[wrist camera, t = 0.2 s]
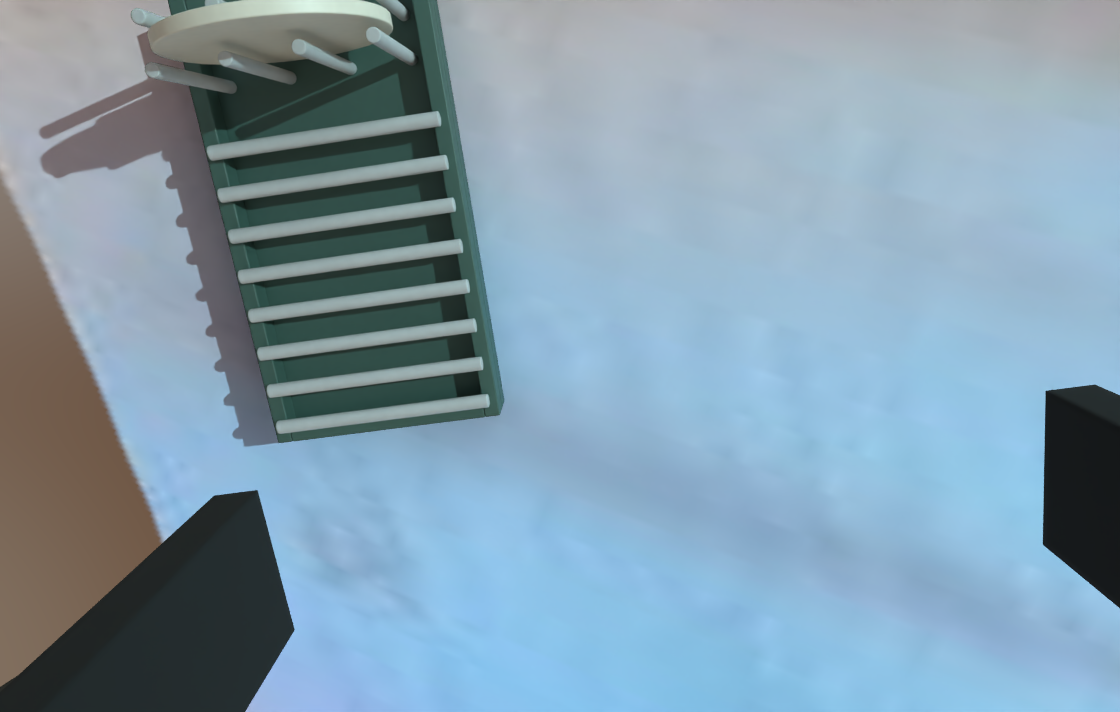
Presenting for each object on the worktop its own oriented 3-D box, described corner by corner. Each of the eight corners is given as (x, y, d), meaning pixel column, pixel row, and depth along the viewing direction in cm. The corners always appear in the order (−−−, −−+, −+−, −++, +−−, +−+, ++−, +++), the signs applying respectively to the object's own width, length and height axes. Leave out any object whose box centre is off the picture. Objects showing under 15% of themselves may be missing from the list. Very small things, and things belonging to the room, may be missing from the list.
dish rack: (192, 9, 37) (36, -54, 26) (431, -31, 36) (370, -111, 25) (294, 428, 42) (199, 516, 31) (504, 401, 41) (479, 483, 31)
